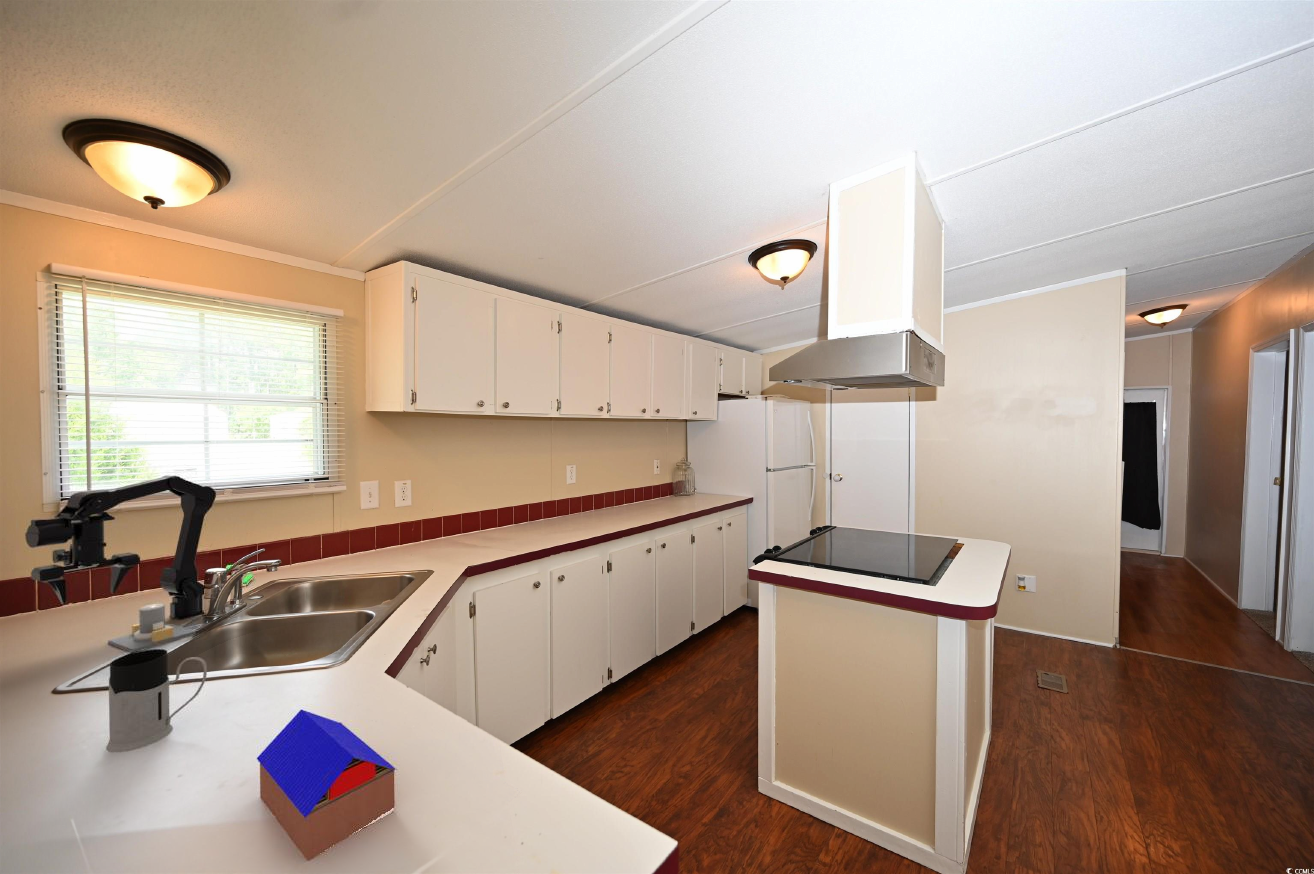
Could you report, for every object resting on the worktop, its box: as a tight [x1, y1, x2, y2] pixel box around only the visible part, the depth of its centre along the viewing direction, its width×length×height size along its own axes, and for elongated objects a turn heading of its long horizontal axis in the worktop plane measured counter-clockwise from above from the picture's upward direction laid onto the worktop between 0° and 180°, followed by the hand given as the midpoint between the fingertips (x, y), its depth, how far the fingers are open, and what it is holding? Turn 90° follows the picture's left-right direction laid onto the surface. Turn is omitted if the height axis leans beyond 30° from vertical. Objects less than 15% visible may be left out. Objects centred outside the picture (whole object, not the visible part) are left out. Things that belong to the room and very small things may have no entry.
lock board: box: [107, 623, 196, 653], centre depth 140 cm, size 13×13×4 cm
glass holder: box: [105, 648, 208, 753], centre depth 96 cm, size 9×14×15 cm, turn 112°
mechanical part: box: [225, 564, 254, 584], centre depth 189 cm, size 12×6×8 cm, turn 25°
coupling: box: [138, 603, 166, 634], centre depth 140 cm, size 7×5×6 cm
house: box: [256, 709, 398, 862], centre depth 78 cm, size 12×20×12 cm, turn 52°
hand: (89, 598), depth 136 cm, fingers open, 9 cm apart
